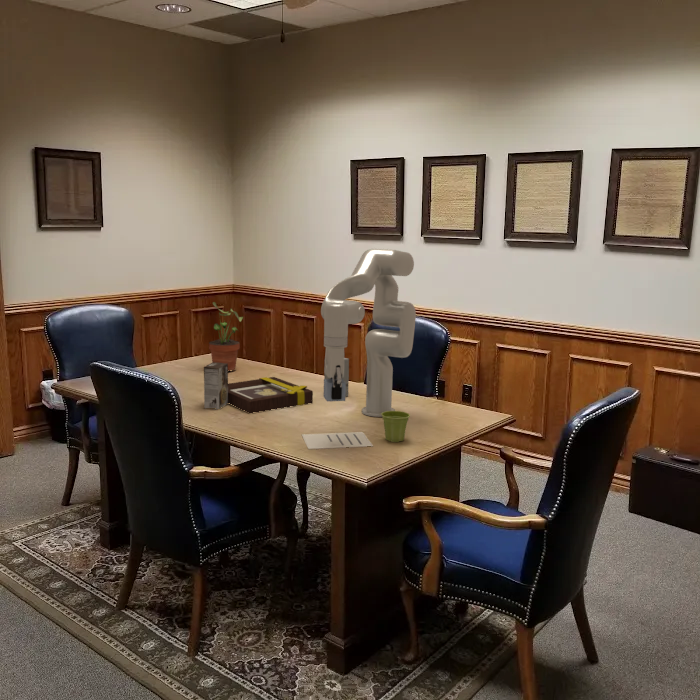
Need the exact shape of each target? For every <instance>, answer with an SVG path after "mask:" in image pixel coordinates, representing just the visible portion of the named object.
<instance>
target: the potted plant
mask: <svg viewBox="0 0 700 700" xmlns="http://www.w3.org/2000/svg"><path fill="white" fill-rule="evenodd" d="M212 305H213V306H214V307H215V308H216V309H218V311H219V312H218V315H219V317H220V316H224V317H226V316H231V317H233V315H235V317H236V318H237V320H238V321H239V322H240V323H241V322H242V320H243V318H244V316H239V314H238V312H237V311H234V310H233V309H232V308H230V310H229V311H224V310H222V309H220V308H219V307H218V305H217V302H215V301H213V302H212ZM219 321H220V323H219V324H218V323H214V325H213V329H214V330H215V331H218V337H219V338H218V339H215V340H212V341H209V342H208V349H209V350H210V353H211V361H212V362H219V363H228V370H229V371H230V370H234V371H236V368H237V359H238V351H239V350H240V349H241V347H240V343H241V342H240V341H236V340H234V339H232V338H231V336H232V334H236V331H239V330H238V328H237V327H236V326H233V327H231V331H230V332H229V334H228V331H229V327H230V323H231V320H230V321H229V323H228V322H226V321H224V322H222V321H221V320H219ZM227 325H228V326H227ZM219 331H221V332H219ZM220 334H221V335H220ZM230 338H231V339H230ZM212 362H211V363H212ZM229 371H228V372H229Z"/></svg>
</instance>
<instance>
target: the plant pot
mask: <svg viewBox="0 0 700 700" xmlns="http://www.w3.org/2000/svg"><path fill="white" fill-rule="evenodd" d="M381 415H382V417H381V418H382V420H383V428H384V436H385V437H384V439H385V440H386V441H388V442H390V441H391V442H392V443H399V442H403V441H405V434H406V430H407V425H408V421H409V418H410V417H411V414H409V413H408V412H405V411H400V410H395V411H386V412H383V413H381ZM391 442H390V443H391Z"/></svg>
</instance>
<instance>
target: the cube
mask: <svg viewBox="0 0 700 700" xmlns="http://www.w3.org/2000/svg"><path fill="white" fill-rule="evenodd" d="M335 381H336V380H335ZM341 381H342V399H338V400H332V398H331V395H332V387H333V383H332V379H324V378H323V398H324V399H325V401H326V402H345V401H346V397H345V394H346V382H345V381H344V380H343V379H341Z"/></svg>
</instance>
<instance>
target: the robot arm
mask: <svg viewBox="0 0 700 700" xmlns="http://www.w3.org/2000/svg"><path fill="white" fill-rule="evenodd" d="M414 266H415V261H414V257H413V255H412V254H411V253H409V252H406V251H401V250H396V249H389V248H387V249H384V248H383V249H382V248H371V249H367V250H365V251H363V253H362V254H361V256H360V259H359V261H358V262H357V264H356V265H355V268H354V270H353V271H352V274H351V275H349V276H347V277H346V278H344V279H342V280H341V281H340V282H338V283H336V284H335V285H334V286H332V287H331V288H330V289H329V291H328V292H327V294H326V295H325V297H324V298H323V301H322V304H321V308H320V314H321V315H320V316H321V317H322V319H323V320H324V323H323V324H324V326H323V327H324V328H323V333H324V334H323V347H324V348H325V354H324V355H325V356H324V366H323V367H324V369H323V371H324V372H325V374H326V375H327V377H328V379H332V383H333V387H332V395H331V398H332V400H338V399H342V381H341V378H343V377H344V358H345V348H347V347H348V333H349V325H356V324H358V323H361V322H362V320H363V319H364V318H365V314H366V310H365V307H364V305H363V304H362V302H359V301H356V300H347V299H350V298H354V297H358V296H362V295H365V294H367V293H370V292H371V291H372V290H373V288H374V287H375V288H374V289H375V291H374V299H373V309H372V320H373V323H374V324H376V325H378V326H383V327H392V328H393V327H394V328H399V330H390V329H383V328H377V329H372V330H370V331H368V332H367V334H366V335H365V339H364V340H365V341H364V343H365V350H366V363H367V364H366V366H367V367H366V394H365V396H366V398H365V399H366V400H365V406H364V407H361V413H362V414H363V415H365V416H369V417H374V418H375V417H376V418H383V417H382V415H381V413H383V412H386V411H396V409H395V408H393V407H392V404H393V403H392V399H393V398H392V396H393V374H394V373H393V372H394V370H393V369H394V368H393V364H392V362H391V359H390V358H389V357H393V358H401V359H403V358H408V357H409V356H411V354H412V350H413V345H414V337H415V326H416V319H417V318H416V317H417V316H416V314H417V313H416V311H417V310H416V308H415V306H414V305H413V303H411V302H408V301H401V300H398V297H399V285H398V283H397V280H396V279H395V278H394V277H393V276H397V277H408V276H410V275H411V274H412V272H413V270H414ZM324 372H323V373H324ZM335 380H336V381H335Z"/></svg>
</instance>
